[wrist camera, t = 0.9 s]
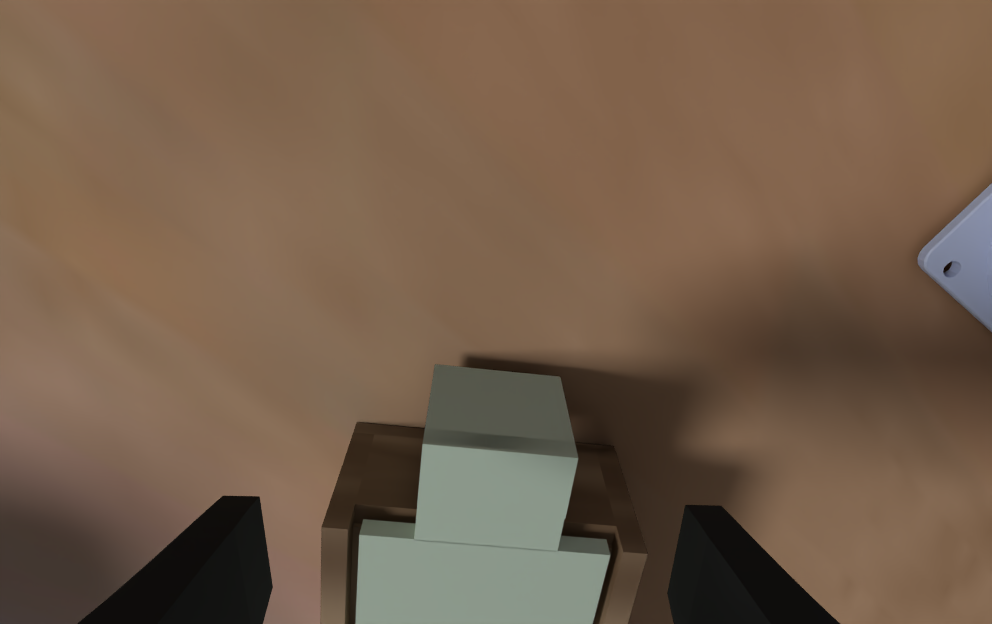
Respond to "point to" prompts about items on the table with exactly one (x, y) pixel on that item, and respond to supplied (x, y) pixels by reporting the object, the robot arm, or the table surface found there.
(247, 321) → the table surface
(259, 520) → the robot arm
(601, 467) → the tub
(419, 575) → the lid
